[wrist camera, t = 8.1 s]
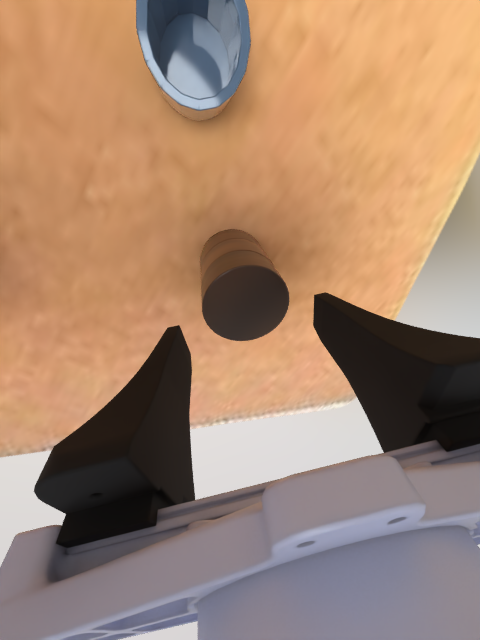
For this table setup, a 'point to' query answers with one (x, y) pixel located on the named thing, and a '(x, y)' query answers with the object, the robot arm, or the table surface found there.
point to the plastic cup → (195, 51)
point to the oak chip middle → (229, 247)
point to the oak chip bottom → (223, 237)
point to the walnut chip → (243, 296)
